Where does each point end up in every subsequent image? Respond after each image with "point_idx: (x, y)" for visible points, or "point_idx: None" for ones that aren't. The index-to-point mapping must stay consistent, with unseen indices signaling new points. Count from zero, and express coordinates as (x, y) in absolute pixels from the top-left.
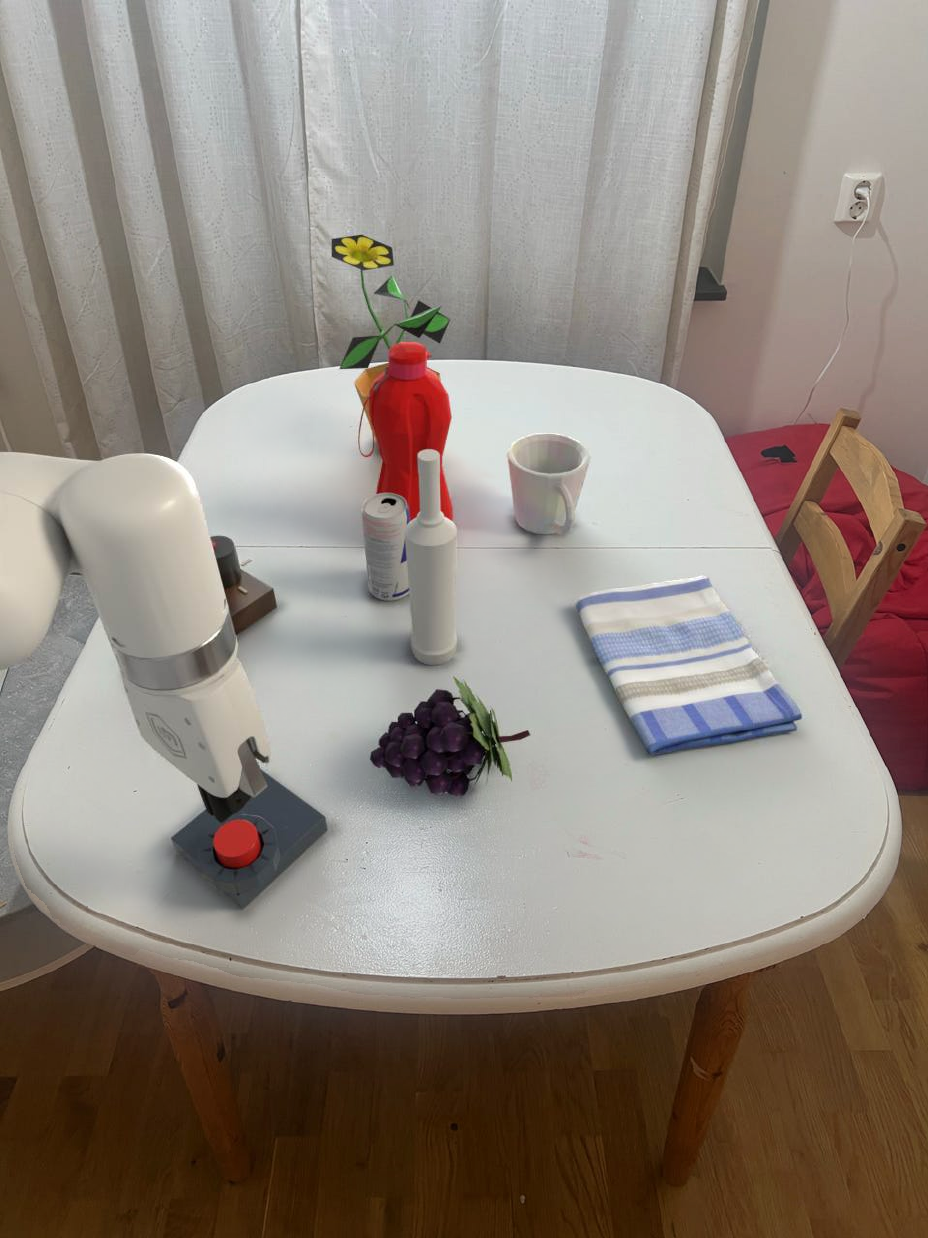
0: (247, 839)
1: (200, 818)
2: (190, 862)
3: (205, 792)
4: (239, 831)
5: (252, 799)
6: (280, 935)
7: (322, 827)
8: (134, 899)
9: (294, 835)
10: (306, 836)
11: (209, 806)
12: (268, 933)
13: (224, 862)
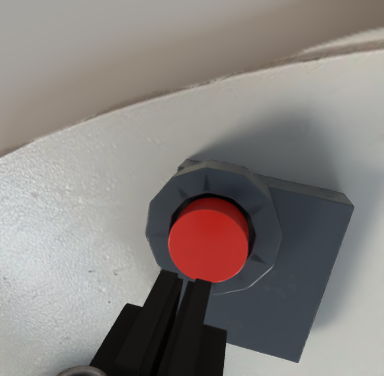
0: (185, 253)
1: (327, 255)
2: (305, 186)
3: (166, 353)
4: (209, 261)
5: (268, 312)
6: (119, 150)
7: None
8: (355, 95)
9: None
10: None
11: (189, 301)
12: (134, 145)
13: (208, 201)
